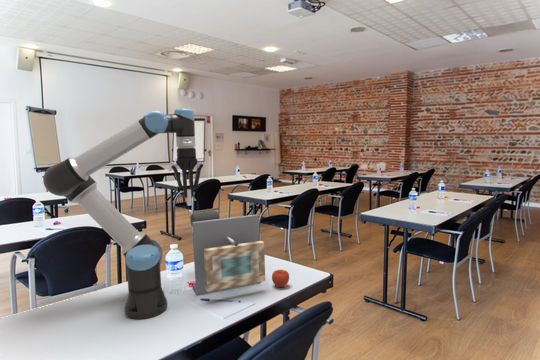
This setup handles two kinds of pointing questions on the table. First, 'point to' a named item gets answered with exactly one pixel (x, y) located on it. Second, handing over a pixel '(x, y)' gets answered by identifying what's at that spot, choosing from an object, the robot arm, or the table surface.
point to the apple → (280, 278)
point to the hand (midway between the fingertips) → (189, 205)
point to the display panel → (220, 241)
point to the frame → (234, 265)
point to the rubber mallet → (204, 216)
